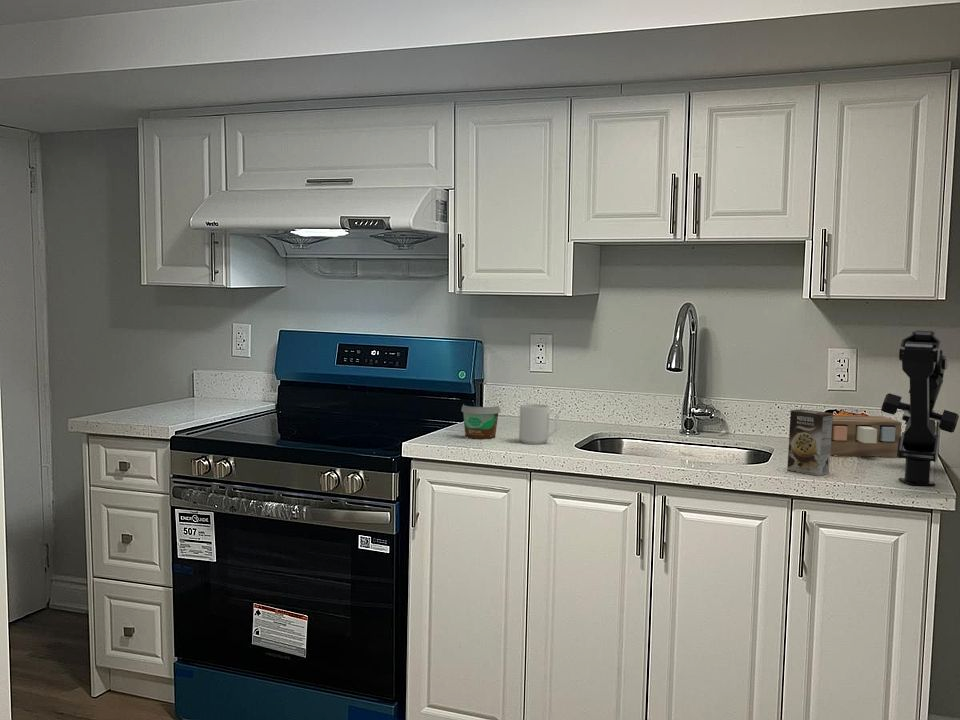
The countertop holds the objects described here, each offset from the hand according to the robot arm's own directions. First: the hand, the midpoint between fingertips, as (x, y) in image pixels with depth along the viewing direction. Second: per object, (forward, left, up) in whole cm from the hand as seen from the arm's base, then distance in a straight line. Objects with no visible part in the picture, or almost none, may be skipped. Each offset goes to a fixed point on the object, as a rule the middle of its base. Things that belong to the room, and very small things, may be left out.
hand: (911, 435), depth 260 cm
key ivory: (+11, +8, -4) cm, 14 cm away
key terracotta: (+15, +15, -4) cm, 21 cm away
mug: (+26, +101, -9) cm, 104 cm away
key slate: (+15, +1, -4) cm, 15 cm away
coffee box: (-12, +33, -9) cm, 36 cm away
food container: (+32, +119, -9) cm, 123 cm away
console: (+19, +8, -8) cm, 22 cm away
